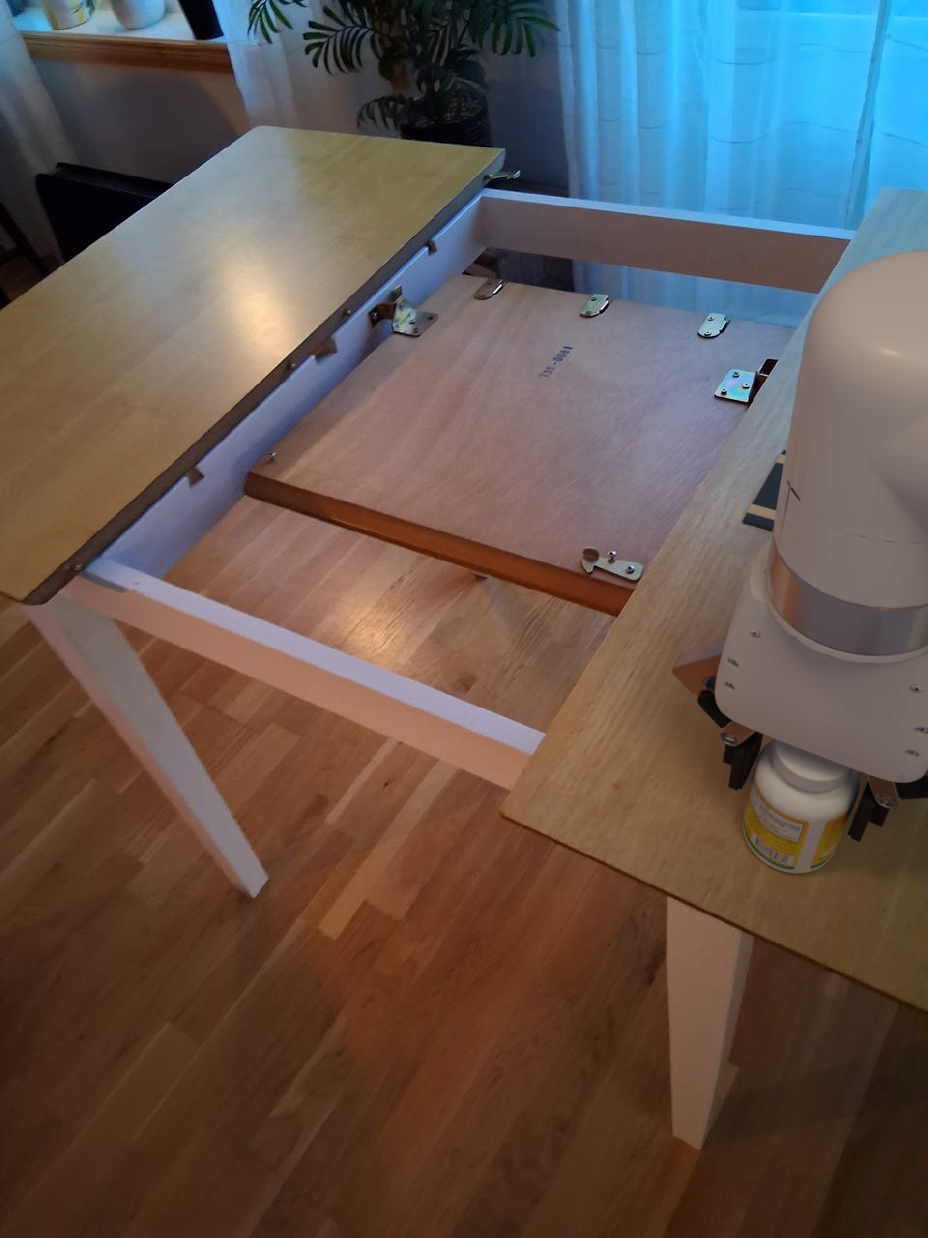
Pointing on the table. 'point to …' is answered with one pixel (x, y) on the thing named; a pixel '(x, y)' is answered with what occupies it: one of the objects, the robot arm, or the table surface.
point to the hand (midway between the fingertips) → (801, 791)
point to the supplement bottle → (797, 807)
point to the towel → (767, 499)
